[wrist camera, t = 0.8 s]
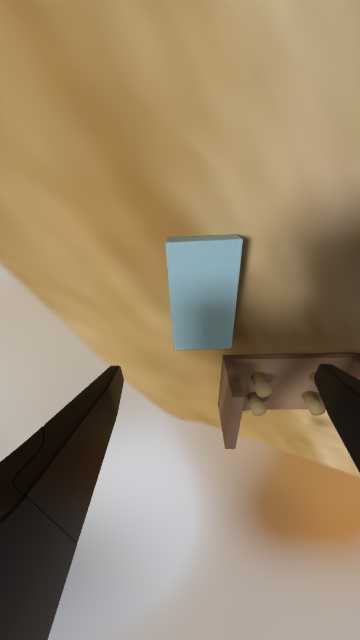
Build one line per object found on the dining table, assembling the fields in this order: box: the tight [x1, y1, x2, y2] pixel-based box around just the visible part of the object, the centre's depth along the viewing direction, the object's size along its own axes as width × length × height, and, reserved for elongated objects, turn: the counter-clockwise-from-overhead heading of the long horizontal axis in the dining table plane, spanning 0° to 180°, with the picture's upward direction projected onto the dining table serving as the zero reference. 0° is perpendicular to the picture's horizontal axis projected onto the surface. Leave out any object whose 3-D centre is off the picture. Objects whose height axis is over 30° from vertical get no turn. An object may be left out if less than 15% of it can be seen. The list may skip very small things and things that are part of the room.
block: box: [166, 234, 243, 350], centre depth 16 cm, size 9×5×2 cm, turn 3°
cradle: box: [218, 353, 360, 449], centre depth 20 cm, size 14×8×5 cm, turn 92°
